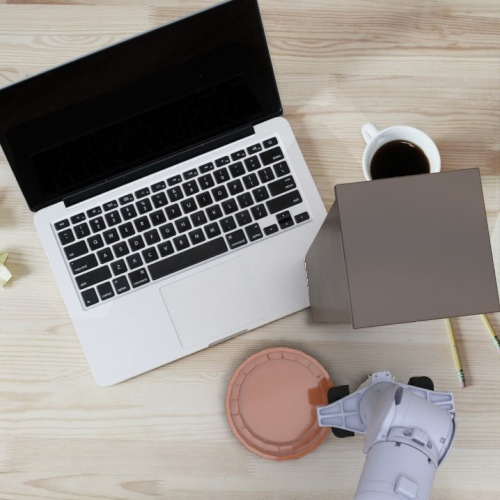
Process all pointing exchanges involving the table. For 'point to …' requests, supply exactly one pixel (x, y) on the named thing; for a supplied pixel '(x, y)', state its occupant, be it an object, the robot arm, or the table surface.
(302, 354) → the bowl
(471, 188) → the taupe notched tower
